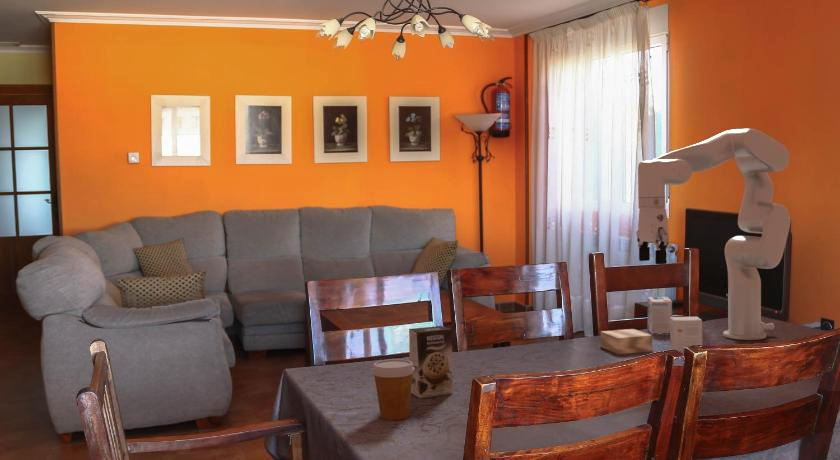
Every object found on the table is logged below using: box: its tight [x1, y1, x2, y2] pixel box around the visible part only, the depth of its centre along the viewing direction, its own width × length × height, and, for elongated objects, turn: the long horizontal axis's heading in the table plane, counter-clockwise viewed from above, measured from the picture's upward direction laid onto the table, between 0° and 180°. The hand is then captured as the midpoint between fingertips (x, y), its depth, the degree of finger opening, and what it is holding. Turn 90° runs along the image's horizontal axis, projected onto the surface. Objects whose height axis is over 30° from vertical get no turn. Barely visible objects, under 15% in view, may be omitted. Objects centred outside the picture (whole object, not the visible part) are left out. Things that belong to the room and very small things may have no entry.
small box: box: [669, 316, 703, 351], centre depth 242 cm, size 8×6×10 cm
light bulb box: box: [647, 296, 673, 334], centre depth 276 cm, size 11×7×11 cm, turn 172°
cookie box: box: [408, 325, 454, 399], centre depth 207 cm, size 9×6×16 cm
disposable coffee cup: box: [371, 358, 415, 421], centre depth 188 cm, size 10×10×12 cm
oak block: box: [600, 328, 653, 355], centre depth 251 cm, size 11×11×5 cm
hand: (652, 262), depth 245 cm, fingers open, 9 cm apart
